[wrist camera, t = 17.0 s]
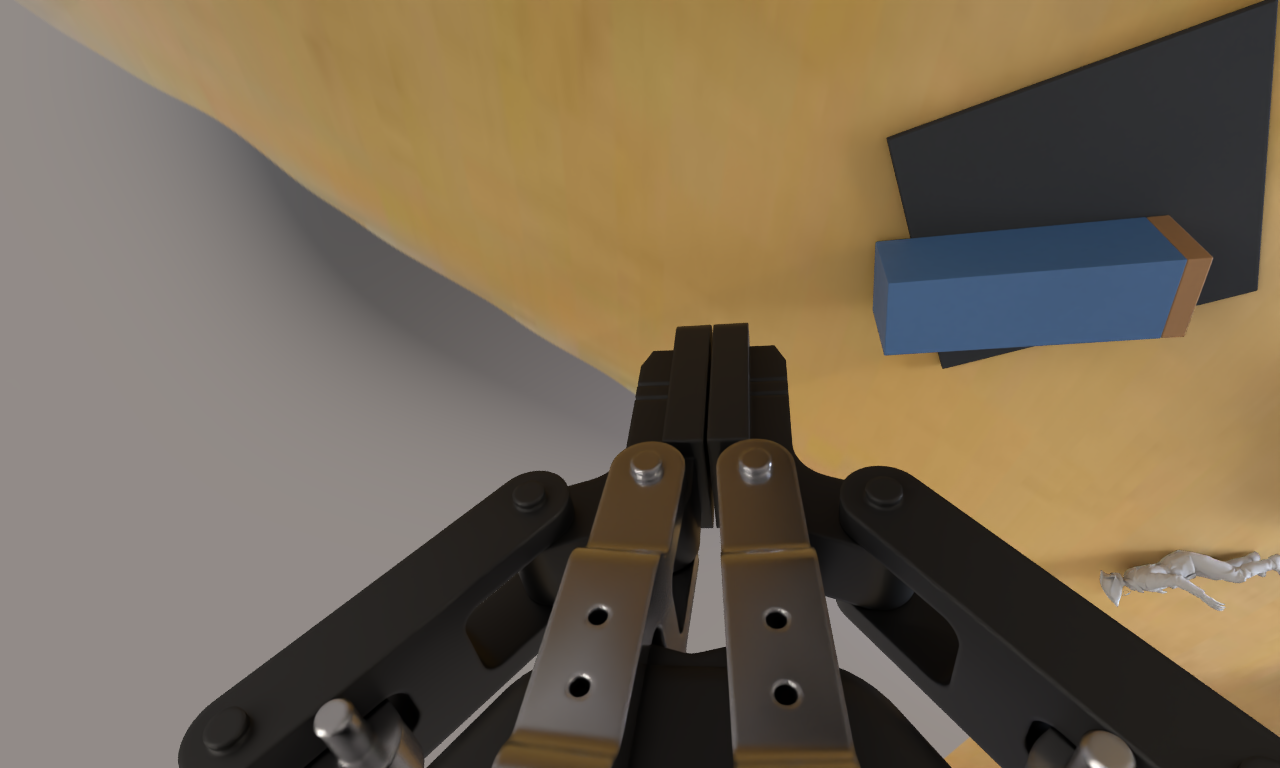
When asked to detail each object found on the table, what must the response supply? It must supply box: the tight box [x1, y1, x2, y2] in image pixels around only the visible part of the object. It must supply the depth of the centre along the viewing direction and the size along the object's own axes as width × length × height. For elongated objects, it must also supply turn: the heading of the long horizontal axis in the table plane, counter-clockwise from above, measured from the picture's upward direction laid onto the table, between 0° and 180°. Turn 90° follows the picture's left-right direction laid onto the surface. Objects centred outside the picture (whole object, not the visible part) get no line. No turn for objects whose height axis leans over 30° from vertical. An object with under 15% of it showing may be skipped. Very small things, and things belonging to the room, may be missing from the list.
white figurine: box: [1100, 550, 1280, 611], centre depth 57 cm, size 8×5×12 cm
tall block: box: [873, 215, 1213, 355], centre depth 42 cm, size 5×5×16 cm
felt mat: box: [887, 0, 1278, 369], centre depth 41 cm, size 17×18×1 cm
